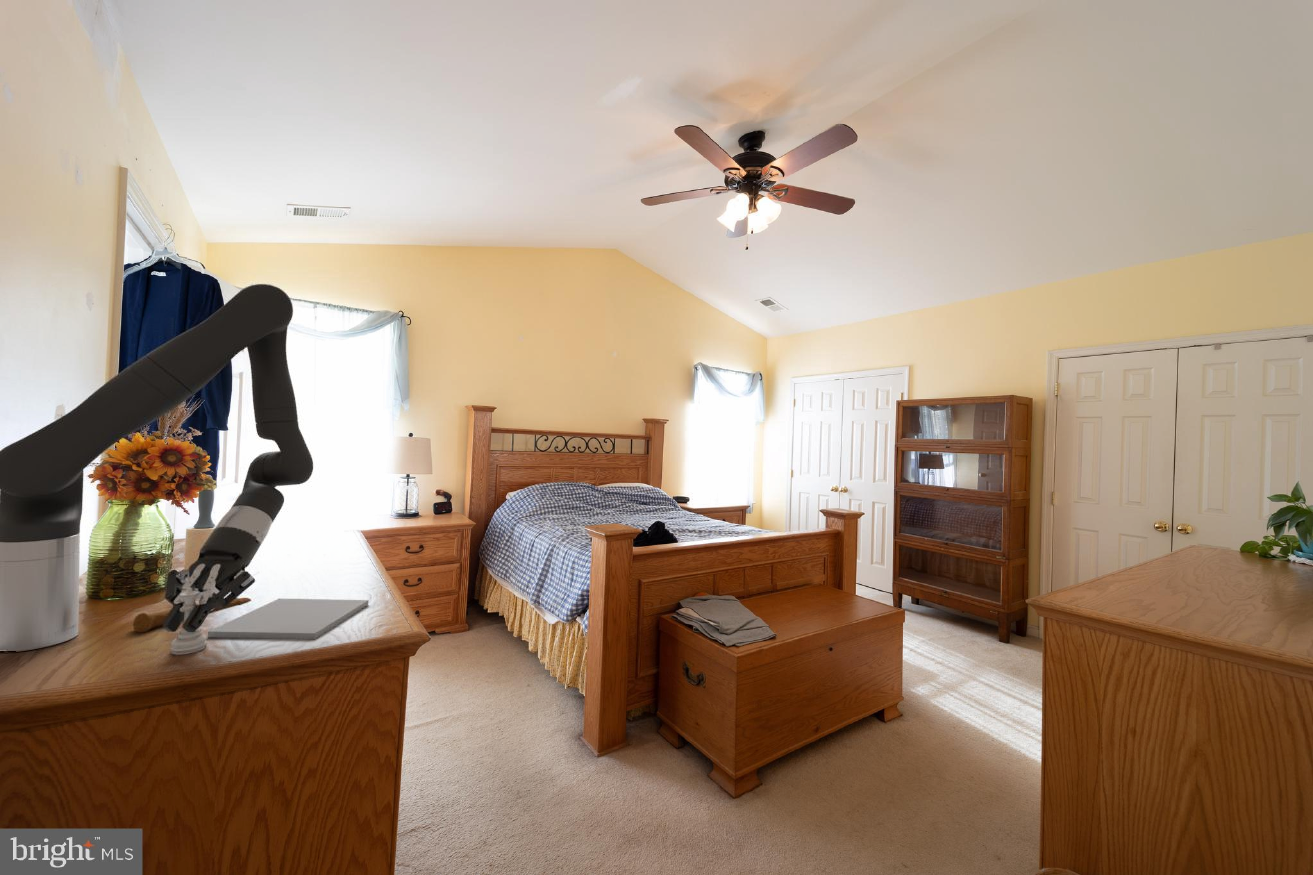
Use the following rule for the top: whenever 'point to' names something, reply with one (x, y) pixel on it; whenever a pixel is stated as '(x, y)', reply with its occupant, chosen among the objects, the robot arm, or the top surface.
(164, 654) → the top surface
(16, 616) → the robot arm
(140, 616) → the primitive tool
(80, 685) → the top surface
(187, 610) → the chess piece
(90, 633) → the top surface
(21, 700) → the top surface
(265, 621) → the slate tile
